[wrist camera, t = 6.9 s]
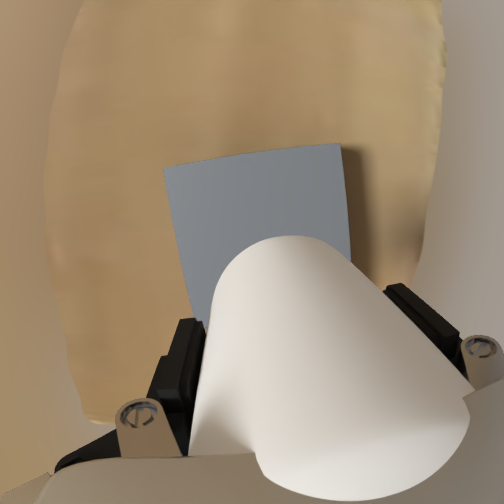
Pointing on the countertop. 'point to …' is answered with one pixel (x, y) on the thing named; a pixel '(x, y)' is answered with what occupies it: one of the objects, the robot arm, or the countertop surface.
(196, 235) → the base block
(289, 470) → the can
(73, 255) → the countertop surface
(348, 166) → the countertop surface
